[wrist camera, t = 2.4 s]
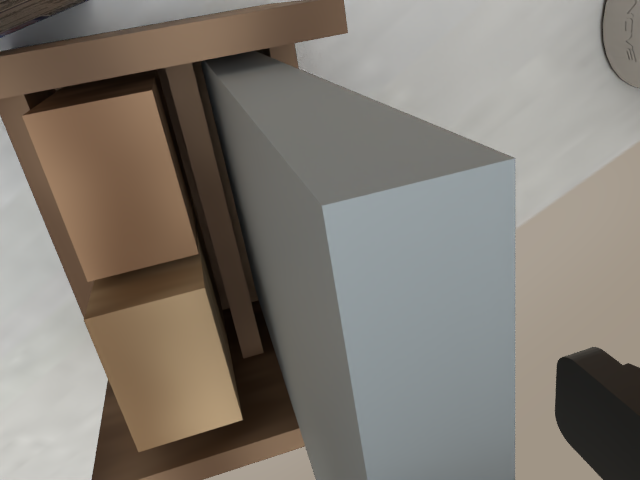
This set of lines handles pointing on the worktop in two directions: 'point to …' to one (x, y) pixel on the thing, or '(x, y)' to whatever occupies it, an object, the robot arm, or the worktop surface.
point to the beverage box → (29, 12)
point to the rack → (210, 203)
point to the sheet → (375, 273)
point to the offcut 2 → (165, 348)
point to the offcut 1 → (116, 173)
